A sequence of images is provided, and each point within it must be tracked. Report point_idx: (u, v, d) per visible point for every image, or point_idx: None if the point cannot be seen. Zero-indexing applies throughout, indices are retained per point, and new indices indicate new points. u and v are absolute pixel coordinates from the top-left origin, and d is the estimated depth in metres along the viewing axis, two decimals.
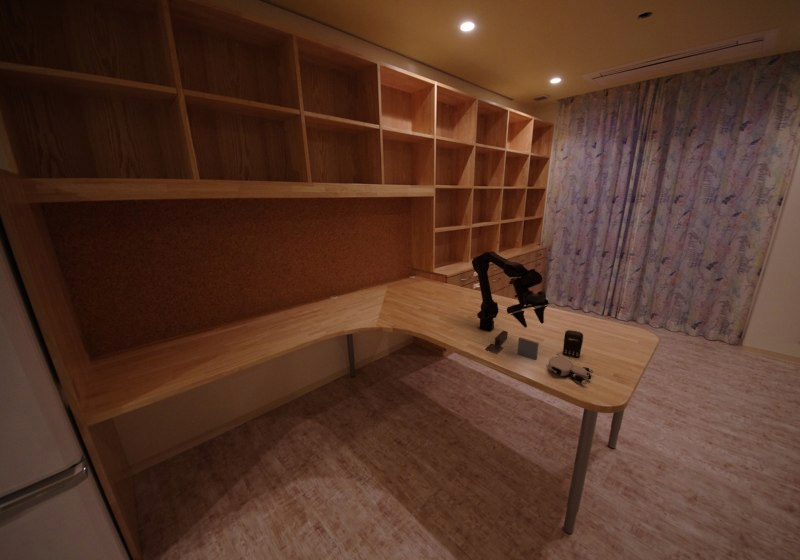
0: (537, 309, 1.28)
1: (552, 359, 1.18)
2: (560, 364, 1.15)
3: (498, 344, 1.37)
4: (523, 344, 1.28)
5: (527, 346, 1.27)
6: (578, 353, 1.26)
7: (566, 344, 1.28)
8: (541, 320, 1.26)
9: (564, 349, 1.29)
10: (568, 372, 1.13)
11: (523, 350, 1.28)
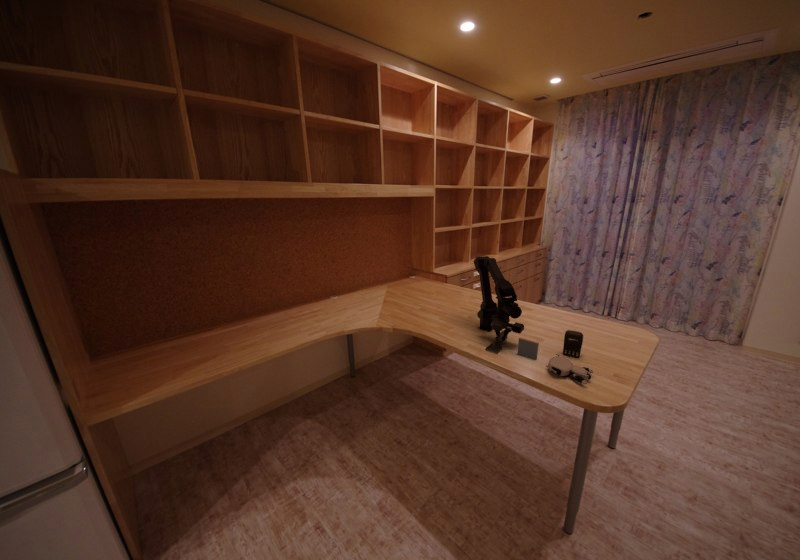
0: None
1: (552, 359, 1.18)
2: (560, 364, 1.15)
3: (498, 344, 1.37)
4: (523, 344, 1.28)
5: (527, 346, 1.27)
6: (578, 353, 1.26)
7: (566, 344, 1.28)
8: None
9: (564, 349, 1.29)
10: (568, 372, 1.12)
11: (523, 350, 1.28)
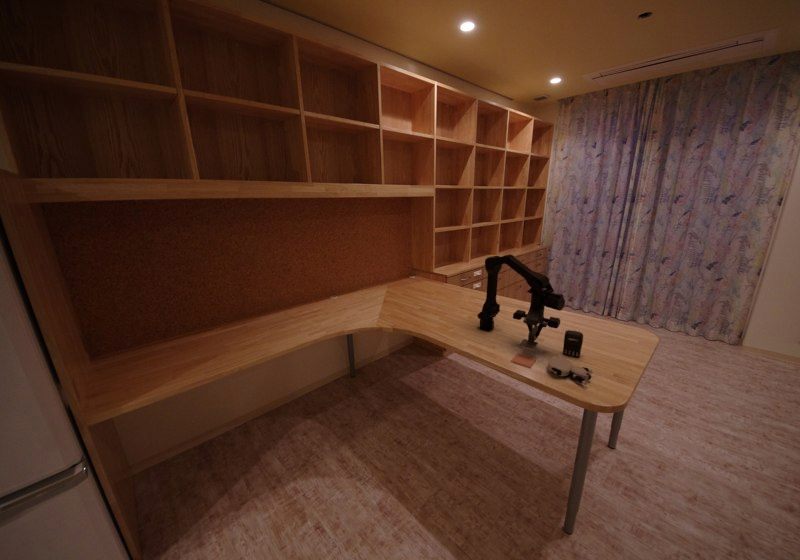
0: None
1: (551, 360, 1.18)
2: (559, 365, 1.15)
3: (532, 340, 1.29)
4: None
5: None
6: (578, 353, 1.26)
7: (566, 344, 1.28)
8: (537, 333, 1.32)
9: (564, 349, 1.29)
10: (568, 373, 1.12)
11: None
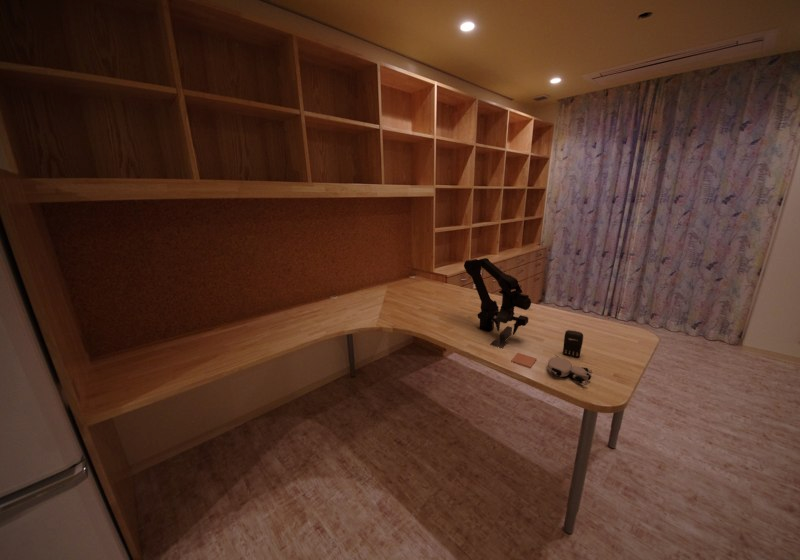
0: None
1: (551, 360, 1.17)
2: (559, 365, 1.14)
3: (503, 339, 1.42)
4: None
5: None
6: (578, 353, 1.26)
7: (566, 344, 1.28)
8: None
9: (564, 349, 1.29)
10: (568, 373, 1.12)
11: None
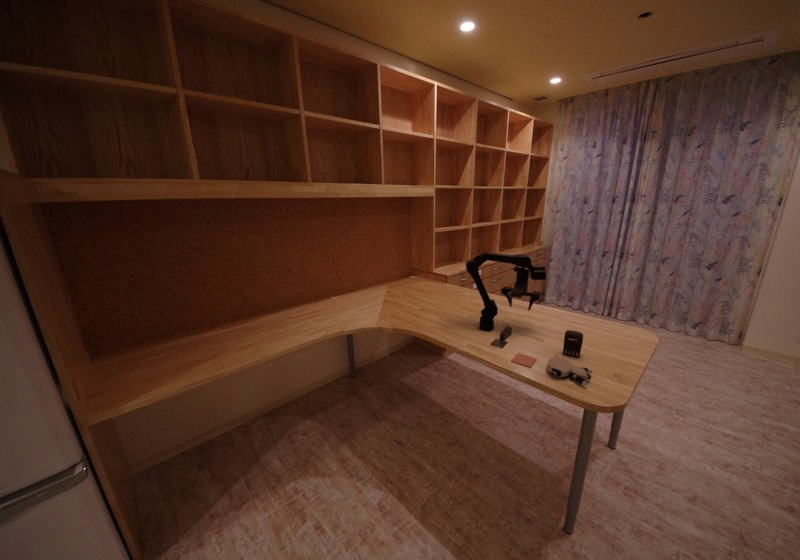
0: None
1: (551, 360, 1.17)
2: (559, 365, 1.14)
3: (503, 339, 1.42)
4: None
5: None
6: (578, 353, 1.26)
7: (566, 344, 1.28)
8: None
9: (564, 349, 1.29)
10: (568, 373, 1.12)
11: None
